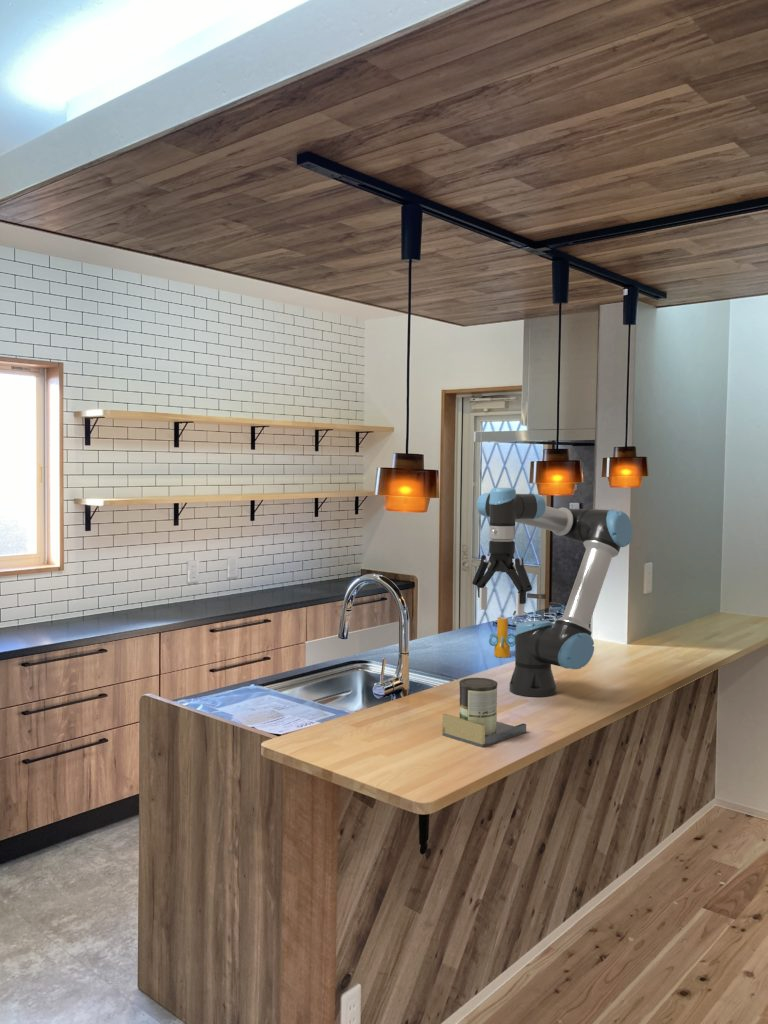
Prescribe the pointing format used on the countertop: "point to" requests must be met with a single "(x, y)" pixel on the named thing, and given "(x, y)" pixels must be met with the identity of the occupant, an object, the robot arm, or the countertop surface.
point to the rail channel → (478, 731)
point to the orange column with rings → (502, 639)
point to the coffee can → (479, 702)
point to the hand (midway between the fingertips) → (501, 612)
